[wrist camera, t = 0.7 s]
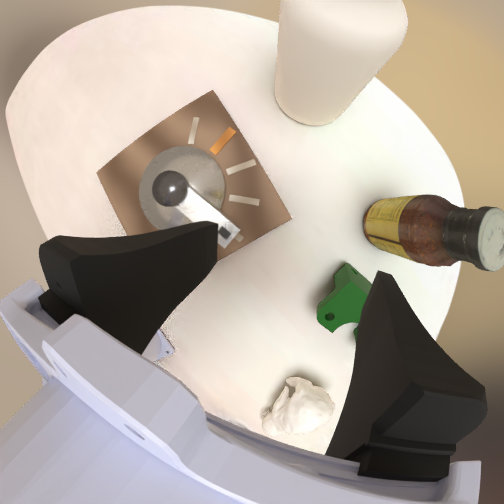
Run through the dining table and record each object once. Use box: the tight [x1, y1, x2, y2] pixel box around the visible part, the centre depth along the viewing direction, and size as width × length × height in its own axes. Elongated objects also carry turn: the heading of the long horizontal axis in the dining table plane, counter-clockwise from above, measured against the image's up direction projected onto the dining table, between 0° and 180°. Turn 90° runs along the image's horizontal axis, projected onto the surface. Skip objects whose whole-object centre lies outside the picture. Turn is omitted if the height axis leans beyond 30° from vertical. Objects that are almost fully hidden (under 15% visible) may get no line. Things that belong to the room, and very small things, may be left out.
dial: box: [139, 146, 242, 248], centre depth 27 cm, size 13×10×4 cm
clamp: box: [317, 263, 372, 341], centre depth 30 cm, size 12×6×9 cm, turn 45°
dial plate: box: [97, 90, 292, 261], centre depth 30 cm, size 18×18×2 cm
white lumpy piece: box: [262, 377, 335, 436], centre depth 32 cm, size 6×9×12 cm
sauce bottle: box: [364, 195, 504, 272], centre depth 21 cm, size 7×6×20 cm
